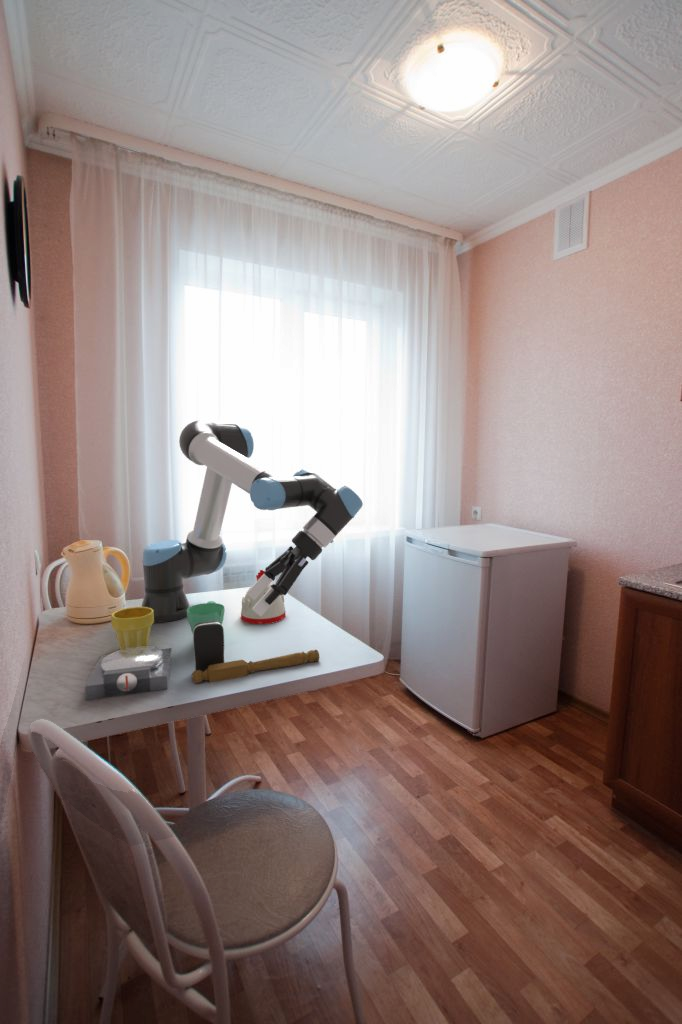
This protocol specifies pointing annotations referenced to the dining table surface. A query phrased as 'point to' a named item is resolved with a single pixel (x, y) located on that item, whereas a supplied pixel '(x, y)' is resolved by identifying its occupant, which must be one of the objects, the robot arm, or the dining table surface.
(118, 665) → the scale
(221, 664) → the turned wooden baluster
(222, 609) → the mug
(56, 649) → the dining table surface
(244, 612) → the kitchen timer
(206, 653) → the battery charger
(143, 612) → the plant pot
